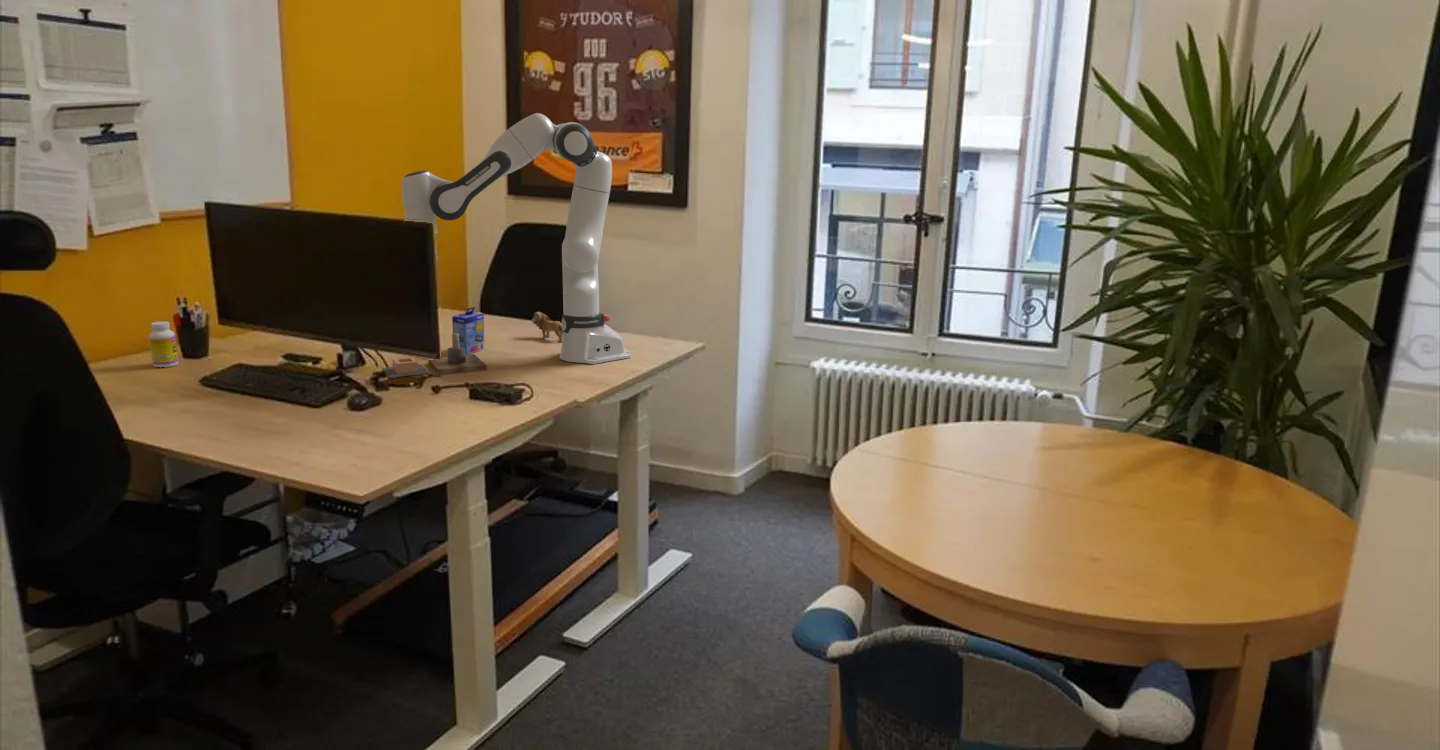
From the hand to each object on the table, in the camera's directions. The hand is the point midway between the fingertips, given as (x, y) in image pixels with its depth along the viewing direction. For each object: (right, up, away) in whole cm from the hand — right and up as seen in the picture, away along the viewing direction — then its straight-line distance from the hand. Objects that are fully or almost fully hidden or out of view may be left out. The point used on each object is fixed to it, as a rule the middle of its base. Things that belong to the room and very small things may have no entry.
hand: (425, 274), depth 283 cm
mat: (-6, -29, -1) cm, 29 cm away
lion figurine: (+29, -18, +42) cm, 54 cm away
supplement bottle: (-77, -27, +1) cm, 82 cm away
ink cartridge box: (+7, -22, +24) cm, 33 cm away
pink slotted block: (-5, -28, -1) cm, 29 cm away
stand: (+8, -27, +6) cm, 29 cm away
